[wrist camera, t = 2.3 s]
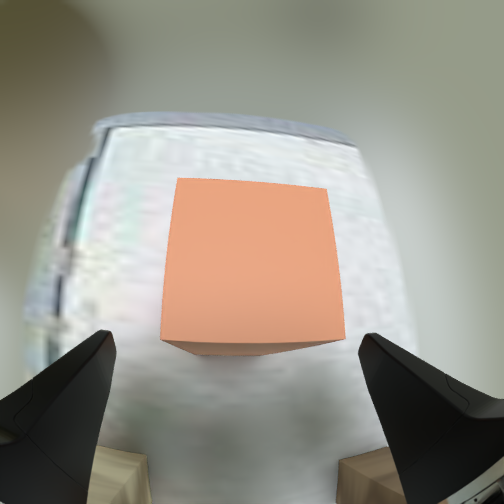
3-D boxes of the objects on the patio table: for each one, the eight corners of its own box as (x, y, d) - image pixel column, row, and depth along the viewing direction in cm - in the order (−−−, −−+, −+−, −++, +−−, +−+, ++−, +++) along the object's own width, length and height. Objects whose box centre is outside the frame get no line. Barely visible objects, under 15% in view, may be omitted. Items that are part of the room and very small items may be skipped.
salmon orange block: (260, 355, 18) (345, 339, 6) (194, 354, 17) (160, 339, 6) (259, 293, 19) (326, 189, 8) (196, 291, 19) (177, 177, 7)
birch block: (152, 502, 12) (117, 579, 3) (97, 490, 11) (36, 547, 2) (146, 454, 14) (94, 521, 4) (89, 443, 13) (10, 483, 4)
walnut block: (382, 487, 14) (462, 522, 5) (335, 502, 13) (407, 558, 4) (386, 446, 16) (478, 469, 6) (338, 460, 15) (423, 505, 6)
